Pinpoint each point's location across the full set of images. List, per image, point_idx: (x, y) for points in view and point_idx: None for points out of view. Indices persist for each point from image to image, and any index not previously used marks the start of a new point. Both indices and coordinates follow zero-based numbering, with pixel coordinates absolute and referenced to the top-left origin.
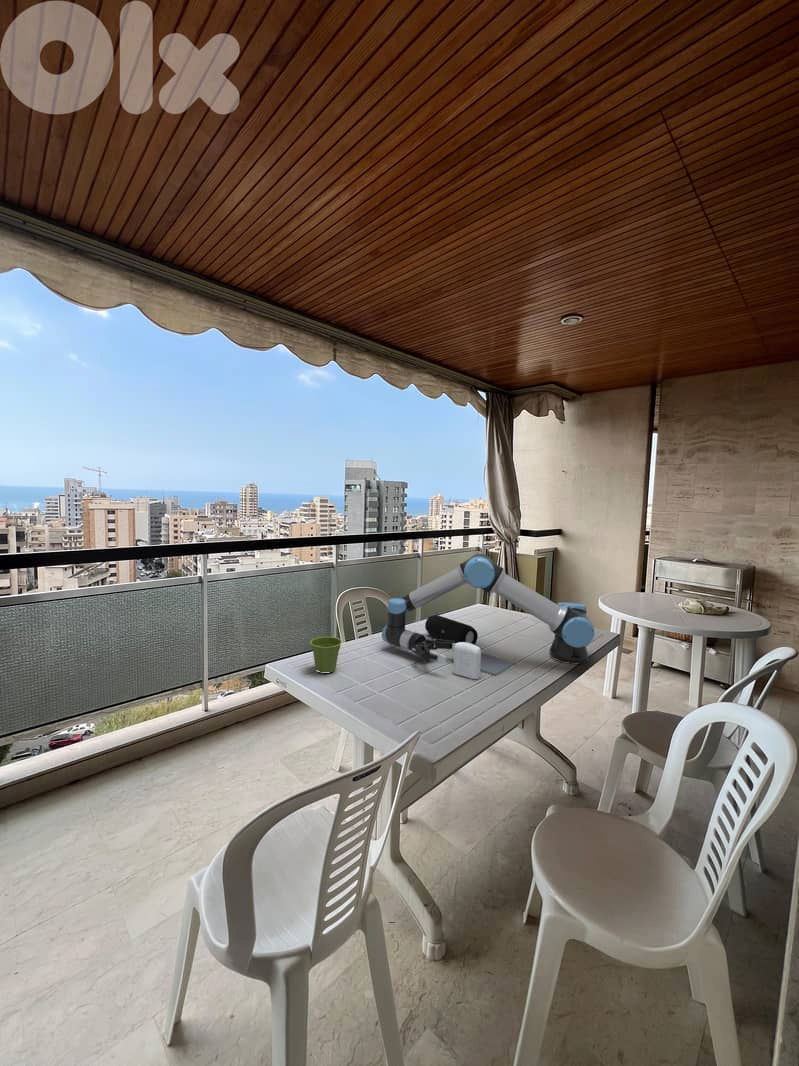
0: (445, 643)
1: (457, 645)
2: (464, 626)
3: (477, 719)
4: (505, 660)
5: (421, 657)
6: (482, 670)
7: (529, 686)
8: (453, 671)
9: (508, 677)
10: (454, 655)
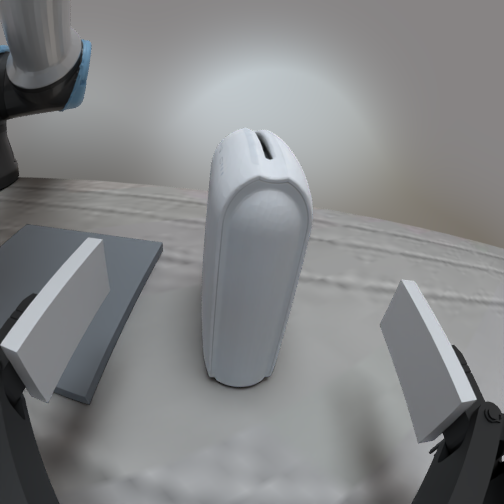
0: (11, 446)
1: (305, 178)
2: None
3: (421, 236)
4: (9, 244)
5: (500, 471)
6: (142, 280)
7: (184, 197)
8: (272, 369)
9: (148, 227)
10: (298, 275)
